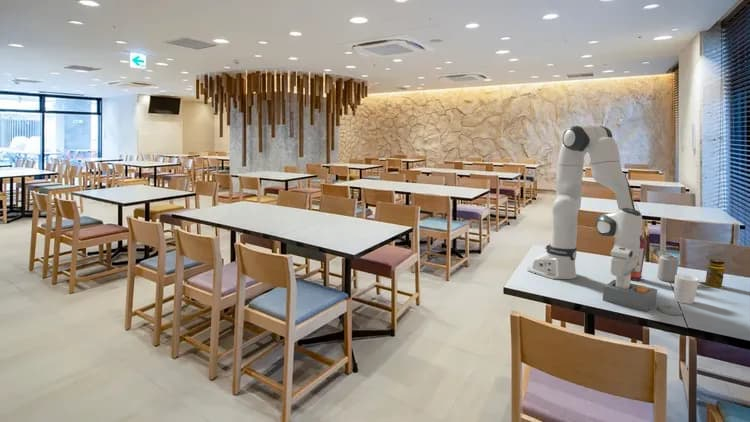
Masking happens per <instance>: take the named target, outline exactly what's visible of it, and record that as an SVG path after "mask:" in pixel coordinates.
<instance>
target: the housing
mask: <svg viewBox="0 0 750 422" xmlns="http://www.w3.org/2000/svg"><path fill="white" fill-rule="evenodd" d="M615 285H616V279H613V280H611V281H610V282H609V283H606V284H605V285H604V286H603V293H602V301H604V302H608V303H613V304H616V305H620V306H624V307H628V308H632V309H636V310H639V311H643V312H648V311H649V310H650V309H652V308H653V307H654V306H655V305H656V304H657V296H658V289H657V288H652V287H649V286H647V287H648V290H647V293H644V292H639V291H636V287H637V286H638V285H639V284H634V283H631V282H630V287H629V290H627V289H623V288H619V287H615Z"/></svg>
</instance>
